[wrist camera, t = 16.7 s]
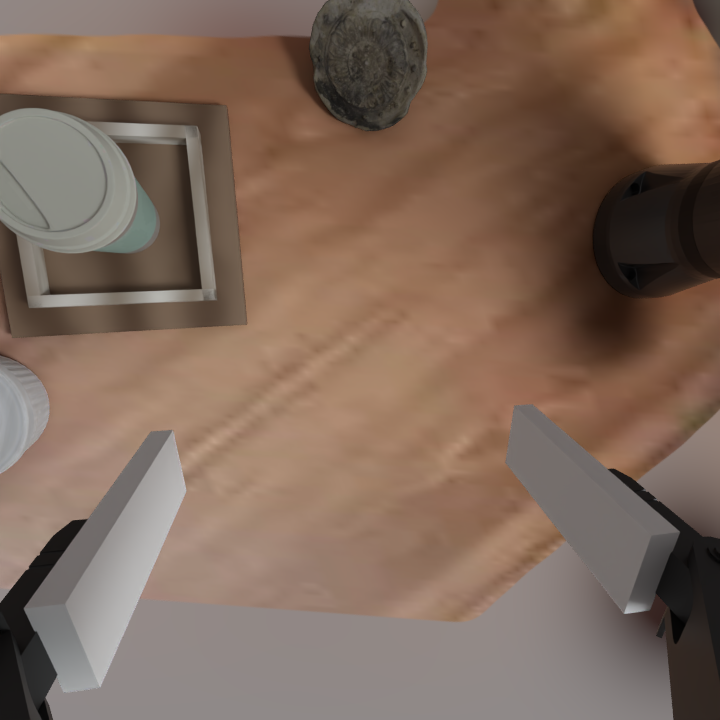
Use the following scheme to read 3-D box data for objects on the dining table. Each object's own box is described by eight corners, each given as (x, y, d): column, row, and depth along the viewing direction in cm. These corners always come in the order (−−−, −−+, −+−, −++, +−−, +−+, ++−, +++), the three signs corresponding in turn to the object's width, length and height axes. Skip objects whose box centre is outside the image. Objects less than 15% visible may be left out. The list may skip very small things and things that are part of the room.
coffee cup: (66, 167, 33) (-51, 88, 21) (173, 174, 35) (118, 104, 23) (76, 268, 34) (-30, 246, 22) (179, 270, 36) (130, 250, 24)
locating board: (227, 111, 36) (224, 96, 33) (247, 324, 39) (245, 325, 36) (-23, 98, 32) (-48, 81, 29) (19, 337, 35) (-1, 339, 32)
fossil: (305, 128, 37) (312, 2, 28) (307, 66, 40) (313, -65, 31) (413, 143, 39) (452, 30, 30) (406, 83, 42) (439, -36, 33)
